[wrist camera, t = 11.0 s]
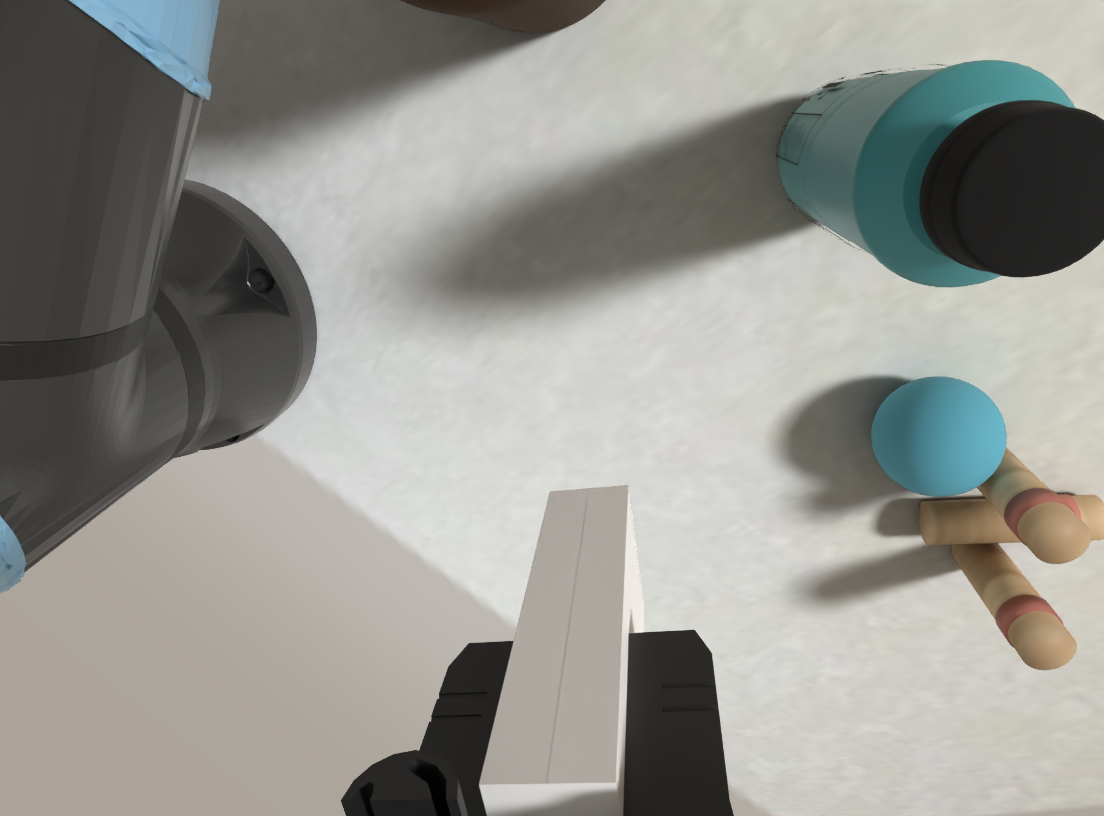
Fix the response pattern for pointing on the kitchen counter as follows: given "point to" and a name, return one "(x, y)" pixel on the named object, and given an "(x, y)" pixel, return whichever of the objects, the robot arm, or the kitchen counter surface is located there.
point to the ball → (938, 436)
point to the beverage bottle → (951, 171)
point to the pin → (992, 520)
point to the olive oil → (516, 12)
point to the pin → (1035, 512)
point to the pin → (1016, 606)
